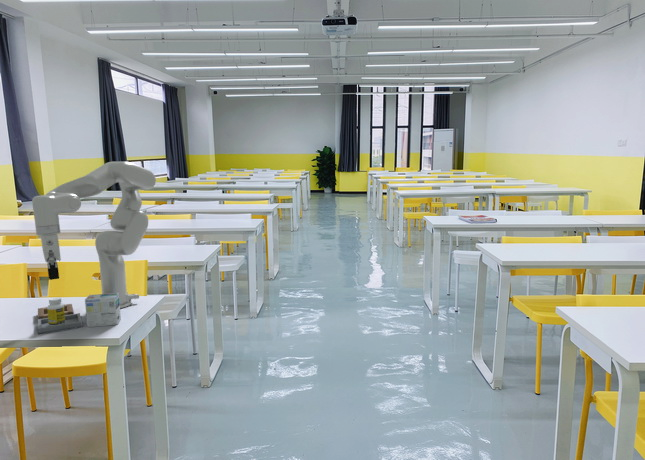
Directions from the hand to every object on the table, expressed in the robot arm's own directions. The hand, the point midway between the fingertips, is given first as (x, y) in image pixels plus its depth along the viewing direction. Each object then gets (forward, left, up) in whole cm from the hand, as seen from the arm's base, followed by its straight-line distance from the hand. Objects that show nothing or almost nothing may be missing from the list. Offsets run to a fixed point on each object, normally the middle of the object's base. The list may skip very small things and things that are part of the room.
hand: (53, 276), depth 174 cm
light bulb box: (-15, +6, -19) cm, 25 cm away
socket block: (+1, -14, -19) cm, 23 cm away
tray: (0, 0, -19) cm, 19 cm away
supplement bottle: (0, 0, -18) cm, 18 cm away
